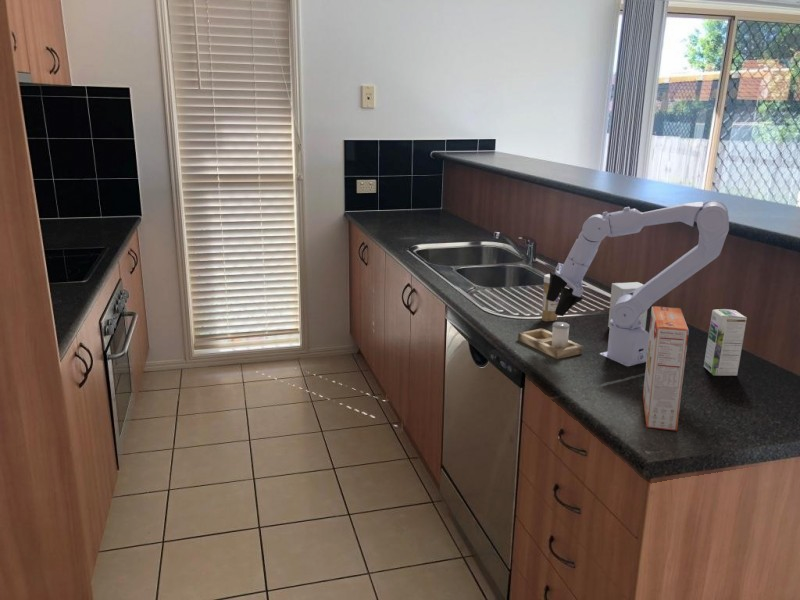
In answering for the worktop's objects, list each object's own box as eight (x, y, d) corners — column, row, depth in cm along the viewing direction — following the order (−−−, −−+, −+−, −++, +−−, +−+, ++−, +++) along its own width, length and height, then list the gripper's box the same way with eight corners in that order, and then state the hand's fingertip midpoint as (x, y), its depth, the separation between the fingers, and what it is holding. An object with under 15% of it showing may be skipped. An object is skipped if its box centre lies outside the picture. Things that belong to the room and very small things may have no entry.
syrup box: (702, 366, 157) (710, 308, 153) (727, 366, 157) (736, 309, 153) (712, 376, 152) (721, 316, 147) (738, 376, 151) (748, 316, 147)
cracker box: (640, 398, 140) (650, 304, 134) (670, 402, 138) (682, 307, 132) (643, 428, 127) (655, 325, 121) (677, 432, 125) (690, 328, 119)
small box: (633, 325, 186) (638, 281, 183) (645, 333, 180) (650, 287, 177) (607, 327, 185) (611, 282, 181) (617, 334, 179) (622, 288, 175)
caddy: (582, 355, 164) (582, 346, 163) (557, 361, 160) (558, 351, 160) (541, 337, 177) (542, 328, 176) (517, 341, 174) (518, 332, 173)
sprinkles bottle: (554, 323, 188) (557, 278, 184) (539, 321, 190) (542, 276, 187) (559, 319, 192) (562, 274, 188) (544, 316, 194) (546, 272, 190)
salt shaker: (570, 352, 165) (573, 325, 163) (558, 354, 163) (560, 328, 161) (559, 347, 168) (561, 321, 166) (547, 349, 166) (549, 323, 164)
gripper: (555, 244, 166) (532, 289, 172) (574, 268, 153) (548, 317, 159) (579, 252, 168) (556, 297, 173) (600, 276, 155) (574, 324, 160)
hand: (554, 307), depth 166 cm, fingers open, 7 cm apart
